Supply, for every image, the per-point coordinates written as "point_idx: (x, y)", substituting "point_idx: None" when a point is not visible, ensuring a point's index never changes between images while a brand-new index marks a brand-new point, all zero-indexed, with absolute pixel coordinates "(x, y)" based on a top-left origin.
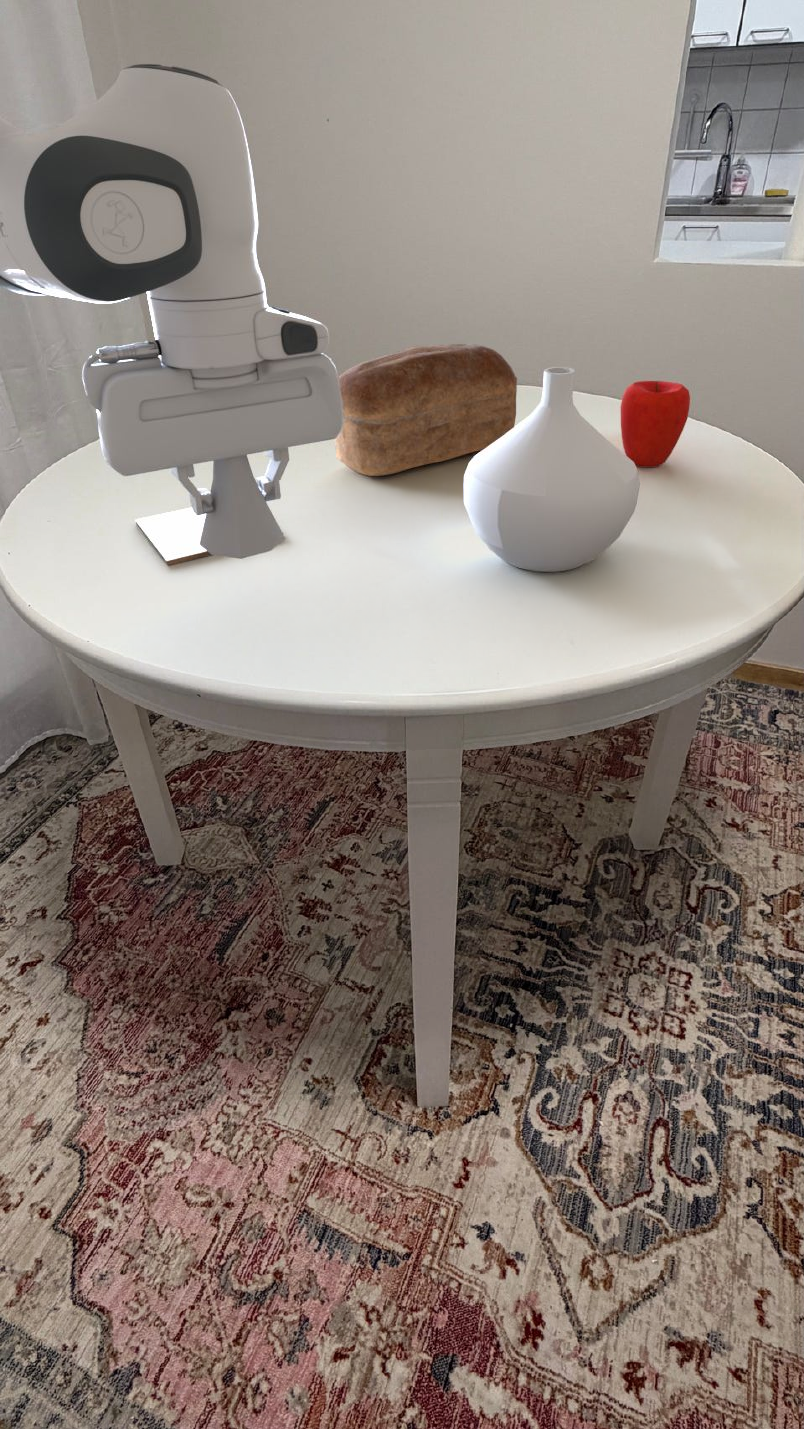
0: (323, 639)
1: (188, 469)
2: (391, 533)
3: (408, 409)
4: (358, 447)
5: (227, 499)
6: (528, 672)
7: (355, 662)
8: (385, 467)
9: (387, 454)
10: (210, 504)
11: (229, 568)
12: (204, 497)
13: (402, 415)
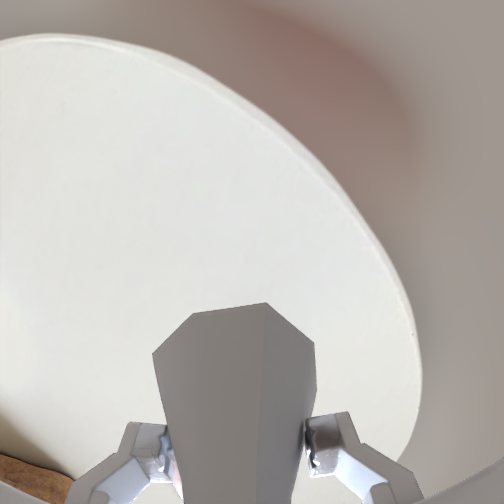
0: (159, 215)
1: (390, 500)
2: (49, 402)
3: None
4: None
5: (275, 432)
6: (9, 64)
7: (140, 138)
8: (55, 476)
9: (49, 484)
10: (316, 430)
11: None
12: (334, 444)
13: None
